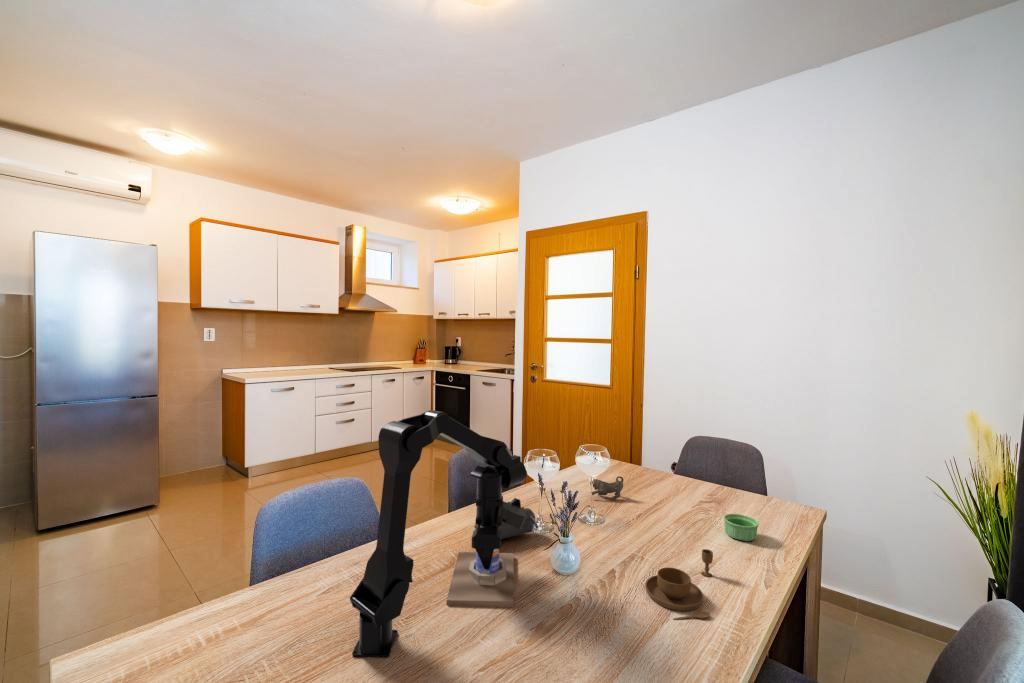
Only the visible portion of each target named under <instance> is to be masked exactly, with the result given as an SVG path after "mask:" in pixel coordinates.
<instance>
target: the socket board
mask: <svg viewBox="0 0 1024 683" xmlns="http://www.w3.org/2000/svg"><path fill="white" fill-rule="evenodd" d="M514 558H515V553H514V552H499V571H498V572H496V573H494V574H482V573H480V572H478V571H476V551H475V552H473V551H469V552H468V551H459V552H458V553H457V556H456V562H455V564H454V570H453V572H452V573H453V574H452V578H451V581H450V585H449V589H448V592H447V597H446V606H458V607H459V606H462V607H463V606H464V607H465V606H466V607H493V608H494V607H495V608H496V607H498V608H500V607H501V608H514V605H515V603H514V602H515V599H514V598H515V597H514V596H515V595H514V594H515V593H514V592H515V590H514V589H515V585H514V584H515V583H514V582H515V576H514V575H515V567H514V566H515V561H514V560H515V559H514Z"/></svg>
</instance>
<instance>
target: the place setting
mask: <svg viewBox="0 0 1024 683" xmlns="http://www.w3.org/2000/svg"><path fill="white" fill-rule="evenodd" d="M701 559H702V562H703V563H704V564H705V566H704V571H702V572H700V574H701V575H702V576H703V577H705V578H709V579H711V578H713V577H714V576H713V574H712V573H710V572H709V571H710V567H709V566H710V565H711V564H712V563H713V559H714V552H713V550H710V549H709V548H708V549H707V548H705V549H702V550H701ZM645 591H646V593H647V595H648V597H650V599H651V600H652V601H653V602H655V603H656V604H658V605H659V606H661V607H664V608H666V609H669V610H673V611H679V612H690V611H693V610H696V609H697V608H699V607H700V606H701V605H702V603H703V599H704V595H703V592H702V590H701V589H700V588H699V587H698V586H697V585H696V584H695V583H694V582H692V579H691V577H690V575H689V574H688V573H687V572H685V571H683V569H682V570H681V569H678V568H675V567H662V568H660V569H659V570H657V575H656V574H655V575H652V576H651V577H648V578H647V580H646V581H645ZM710 616H711V613H710V612H708V611H697V612H695V613H694V614H692V615H685V616H680V617H679V616H678V617H674V618H672V620H673V621H680V620H685V619H690V618H696V619H698V620H699V619H701V620H703V619H706V618H709V617H710Z"/></svg>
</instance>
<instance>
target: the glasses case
mask: <svg viewBox="0 0 1024 683" xmlns="http://www.w3.org/2000/svg"><path fill="white" fill-rule="evenodd" d="M524 509H525V510H526V518H525V520H524V523H523V525H522V528H521V529H517V528H515V527H514V526H511V525H509V524H506V523H504V522H503V521H502V525H500V526H499V527H498V529H499V530H500V531H501V540H504V539H507V538H511V537H516V536H520V535H525V534H529V533H532V531H533V530H534V527H535V528H536V530H538V529H539V526H538V524H537V522H536V514H535V513H534V511H533V510H532V509H531V508H529V507H524ZM473 527H474V530H475V529H476V528H479V527H478V524H476V522H475V524H474V526H473Z"/></svg>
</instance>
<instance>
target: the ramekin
mask: <svg viewBox="0 0 1024 683" xmlns="http://www.w3.org/2000/svg"><path fill="white" fill-rule="evenodd" d="M723 521H724V532H725V534H727V535H728V536H729V537H731V538H733V539H736V540H739V541H746V542H751V541H754V540H755V539H756V538H757V533H758V528H759V525H760V524H759V522H758V520H756V519H755V518H753V517H751V516H748V515H744V514H740V513H726V514H725V515H723Z"/></svg>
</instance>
